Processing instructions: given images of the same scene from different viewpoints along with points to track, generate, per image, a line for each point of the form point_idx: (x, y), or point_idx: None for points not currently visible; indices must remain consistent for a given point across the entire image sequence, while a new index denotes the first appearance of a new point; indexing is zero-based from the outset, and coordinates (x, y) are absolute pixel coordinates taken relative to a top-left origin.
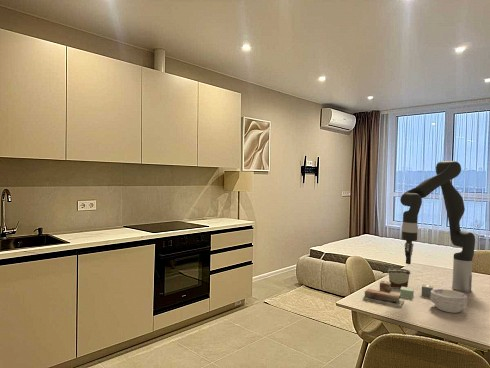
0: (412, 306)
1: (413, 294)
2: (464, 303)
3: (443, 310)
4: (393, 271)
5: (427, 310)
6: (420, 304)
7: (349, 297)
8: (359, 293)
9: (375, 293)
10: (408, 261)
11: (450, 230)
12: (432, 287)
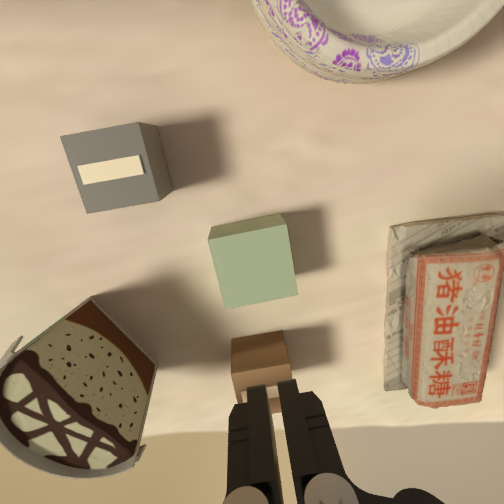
0: (432, 172)
1: (222, 227)
2: None
3: None
4: (111, 436)
5: (455, 82)
6: (363, 146)
7: (473, 419)
8: (385, 416)
9: (488, 357)
10: (319, 424)
11: None
12: (112, 128)
